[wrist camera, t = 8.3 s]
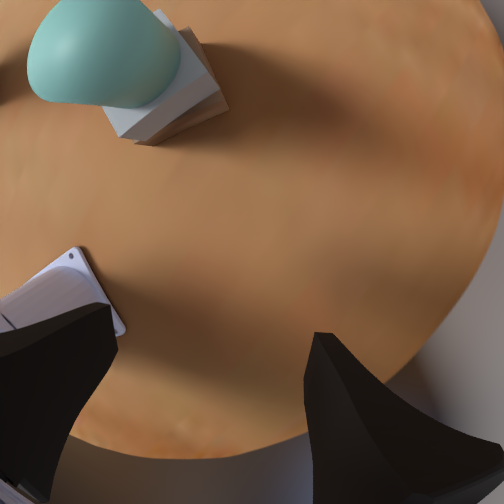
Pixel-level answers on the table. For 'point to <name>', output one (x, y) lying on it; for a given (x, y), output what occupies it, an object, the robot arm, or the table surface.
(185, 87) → the tower top
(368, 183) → the table surface
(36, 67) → the teal rounded piece
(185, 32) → the tower base
